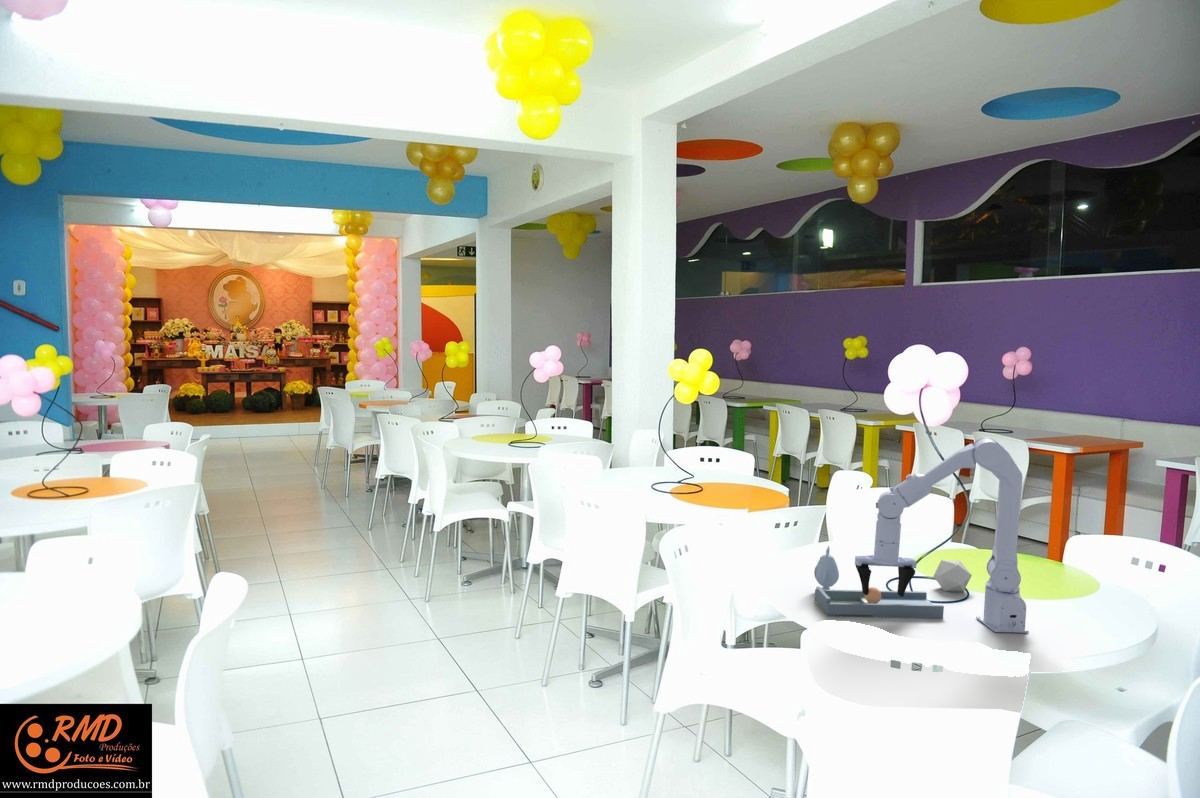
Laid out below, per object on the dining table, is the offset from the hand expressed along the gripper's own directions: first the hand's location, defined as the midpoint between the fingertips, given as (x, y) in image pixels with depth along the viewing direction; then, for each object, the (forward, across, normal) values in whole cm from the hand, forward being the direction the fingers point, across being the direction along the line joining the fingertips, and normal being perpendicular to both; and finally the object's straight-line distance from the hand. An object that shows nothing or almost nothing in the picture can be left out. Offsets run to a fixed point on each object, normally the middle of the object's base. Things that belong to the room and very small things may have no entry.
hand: (883, 594), depth 198 cm
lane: (+4, +1, 0) cm, 4 cm away
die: (+3, -25, -17) cm, 30 cm away
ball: (0, +2, 0) cm, 3 cm away
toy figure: (+4, +10, -13) cm, 17 cm away
